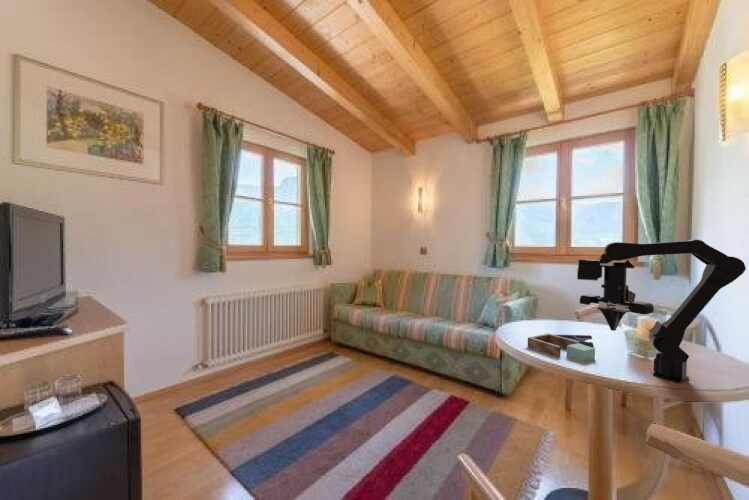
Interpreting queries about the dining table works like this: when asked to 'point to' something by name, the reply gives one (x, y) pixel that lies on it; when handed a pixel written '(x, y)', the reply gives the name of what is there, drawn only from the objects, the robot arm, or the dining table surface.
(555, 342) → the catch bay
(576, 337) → the bracket
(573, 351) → the pale green block
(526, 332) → the dining table surface
